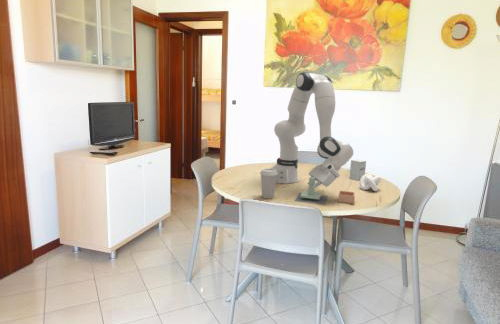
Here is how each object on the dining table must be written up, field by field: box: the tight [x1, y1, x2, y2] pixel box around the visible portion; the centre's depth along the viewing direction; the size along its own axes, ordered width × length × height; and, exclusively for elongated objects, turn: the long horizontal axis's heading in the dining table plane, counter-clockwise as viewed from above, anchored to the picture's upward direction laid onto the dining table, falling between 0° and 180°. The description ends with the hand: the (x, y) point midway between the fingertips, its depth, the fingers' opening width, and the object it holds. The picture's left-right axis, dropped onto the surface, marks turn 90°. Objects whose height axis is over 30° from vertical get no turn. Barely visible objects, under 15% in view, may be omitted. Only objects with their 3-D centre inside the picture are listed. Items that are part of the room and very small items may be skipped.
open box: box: [337, 190, 356, 206], centre depth 189 cm, size 8×8×4 cm
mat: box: [294, 192, 329, 205], centre depth 191 cm, size 16×16×1 cm
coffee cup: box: [259, 167, 278, 199], centre depth 192 cm, size 10×10×15 cm
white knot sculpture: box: [359, 173, 382, 192], centre depth 213 cm, size 11×12×9 cm
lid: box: [300, 176, 322, 200], centre depth 190 cm, size 10×10×10 cm
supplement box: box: [349, 158, 367, 181], centre depth 239 cm, size 7×7×13 cm
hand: (310, 186), depth 190 cm, fingers closed on lid, 4 cm apart
